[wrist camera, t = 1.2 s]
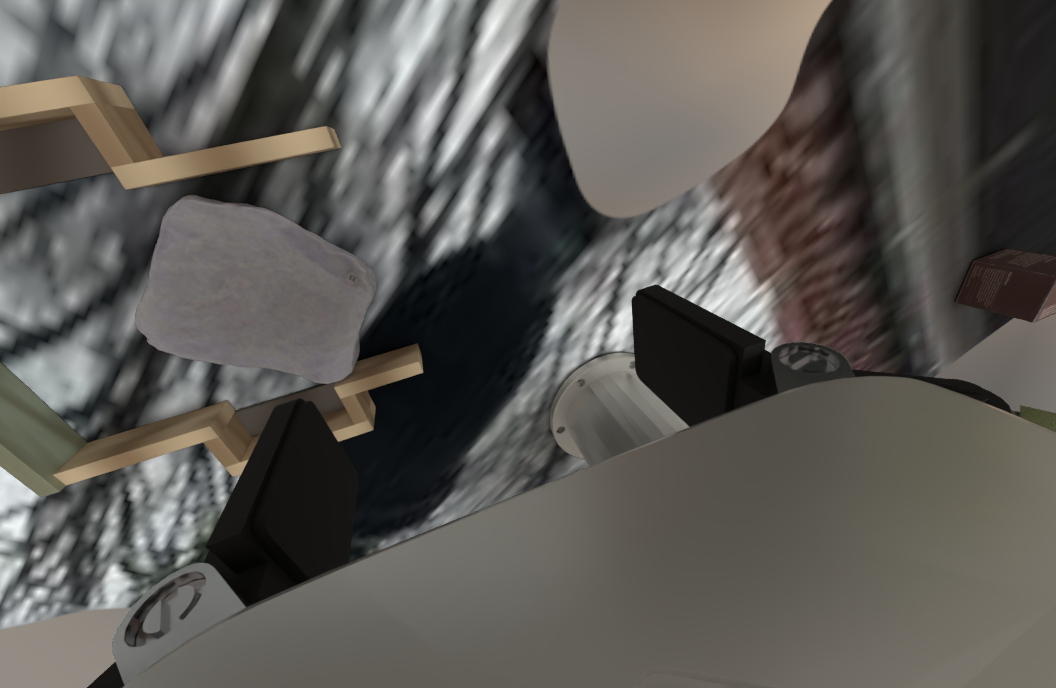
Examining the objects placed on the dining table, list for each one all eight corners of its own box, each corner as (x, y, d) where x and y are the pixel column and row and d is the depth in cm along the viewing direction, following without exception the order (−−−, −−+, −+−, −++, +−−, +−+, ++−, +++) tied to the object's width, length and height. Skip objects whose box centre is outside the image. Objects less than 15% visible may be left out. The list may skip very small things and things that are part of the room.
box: (952, 302, 49) (1032, 324, 43) (971, 259, 46) (1060, 275, 40) (985, 290, 50) (1068, 309, 44) (1006, 246, 47) (1098, 261, 41)
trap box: (306, 56, 20) (290, 40, 17) (434, 387, 32) (438, 412, 29) (-266, 148, 16) (-416, 146, 13) (118, 490, 28) (84, 531, 25)
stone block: (189, 180, 23) (155, 333, 24) (150, 168, 18) (111, 355, 20) (388, 250, 28) (352, 371, 29) (394, 253, 24) (351, 395, 25)
